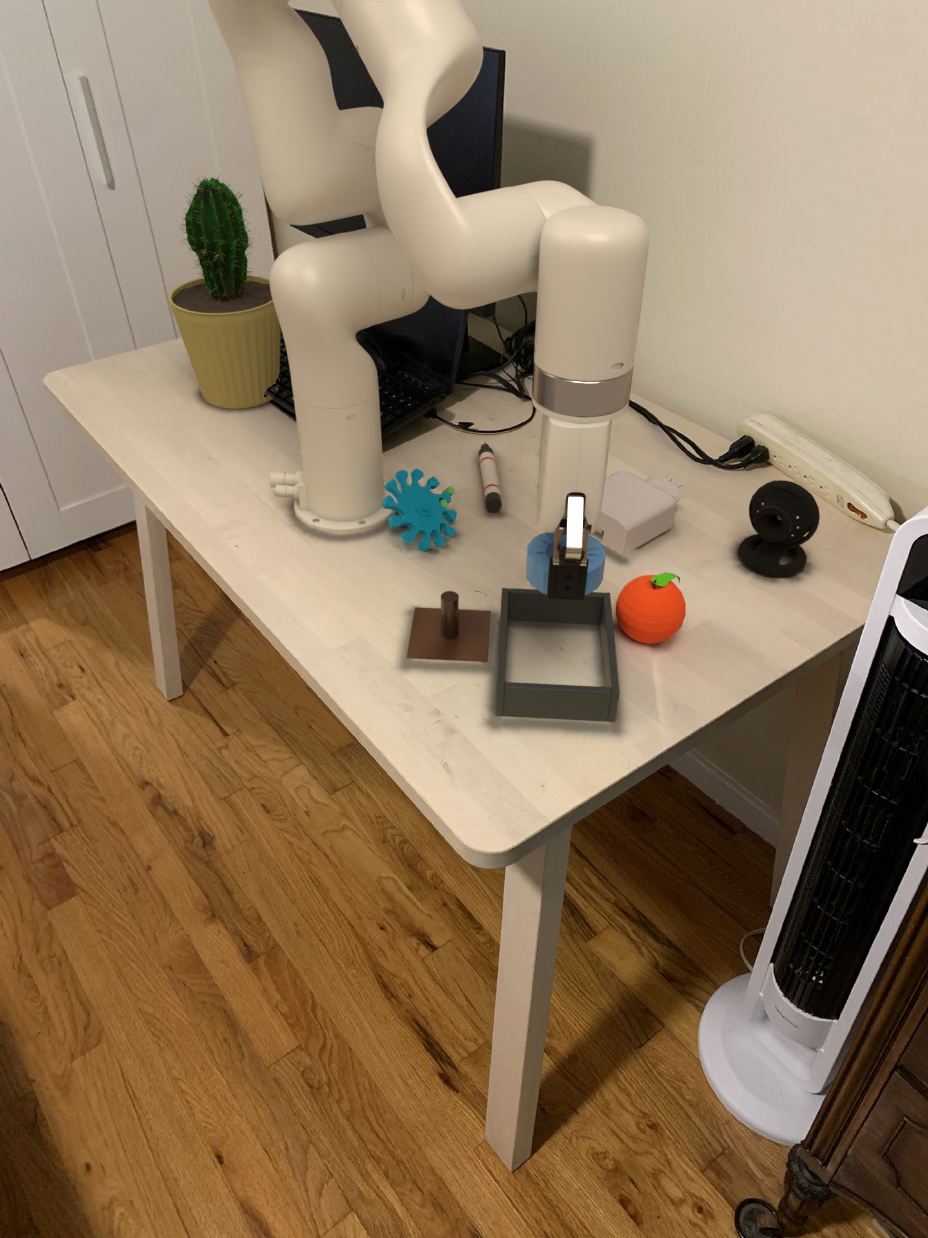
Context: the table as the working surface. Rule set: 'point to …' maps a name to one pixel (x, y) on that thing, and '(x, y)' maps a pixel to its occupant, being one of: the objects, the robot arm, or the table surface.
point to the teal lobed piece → (420, 509)
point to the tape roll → (543, 550)
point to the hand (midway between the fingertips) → (564, 569)
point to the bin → (552, 697)
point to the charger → (635, 510)
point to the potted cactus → (226, 305)
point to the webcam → (779, 528)
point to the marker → (490, 478)
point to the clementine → (651, 608)
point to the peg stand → (449, 632)
